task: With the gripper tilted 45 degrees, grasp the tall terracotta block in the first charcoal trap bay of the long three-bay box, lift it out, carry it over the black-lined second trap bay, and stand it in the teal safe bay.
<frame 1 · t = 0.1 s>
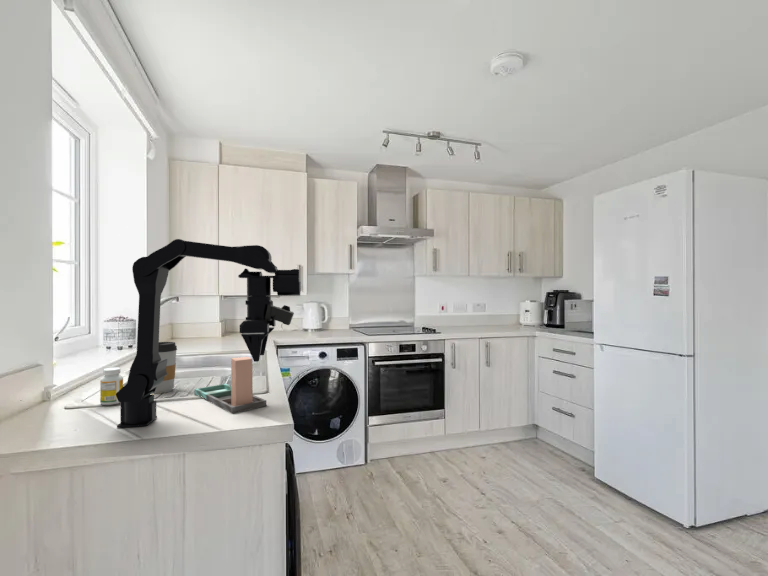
hand: (259, 358, 101), 15 cm above the worktop, tool pointing down, fingers open, 9 cm apart
supplement bottle: (111, 403, 114), on the worktop
coffee cup: (162, 391, 127), on the worktop
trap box: (228, 399, 117), on the worktop
slim block: (241, 405, 110), resting in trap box
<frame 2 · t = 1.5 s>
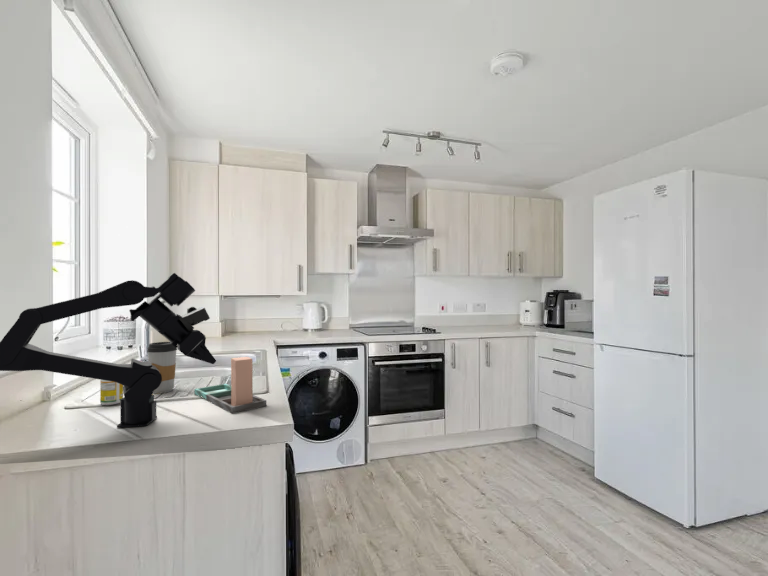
hand: (210, 360, 106), 13 cm above the worktop, tool tilted 45°, fingers open, 9 cm apart
nothing on the worktop moved.
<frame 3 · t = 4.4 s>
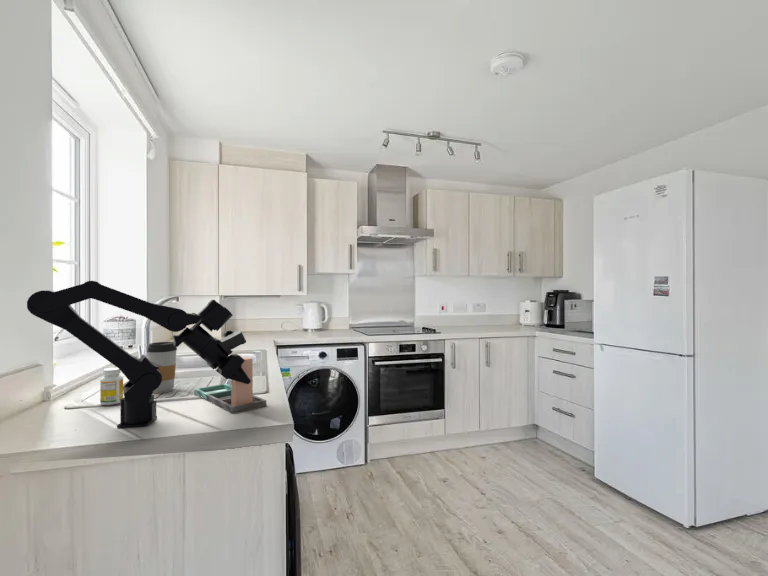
hand: (247, 381, 111), 7 cm above the worktop, tool tilted 45°, fingers closed on slim block, 4 cm apart
slim block: (241, 405, 110), resting in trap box, touching gripper
everything else where it was.
when the fingers open (8 cm above the worktop, at t = 9.5 s): slim block drops 1 cm, resting on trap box.
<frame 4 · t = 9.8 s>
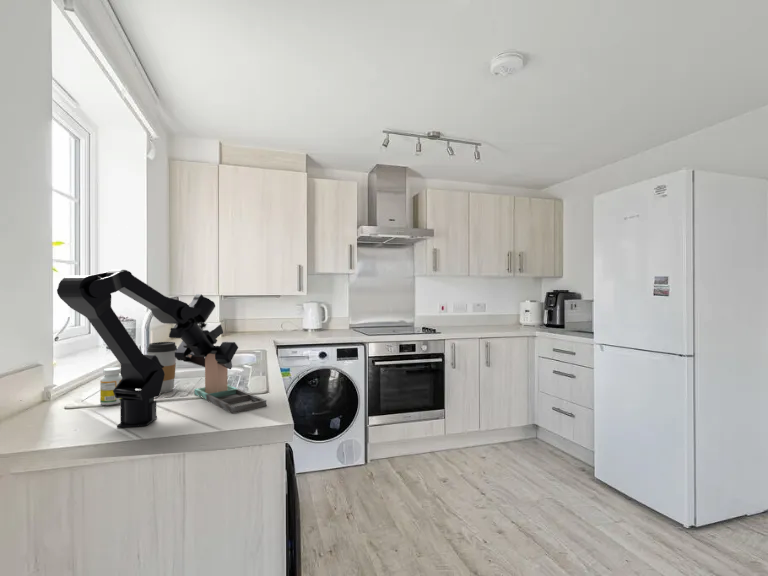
hand: (219, 367, 124), 8 cm above the worktop, tool tilted 45°, fingers open, 8 cm apart
slim block: (216, 393, 123), resting on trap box
everything else where it was.
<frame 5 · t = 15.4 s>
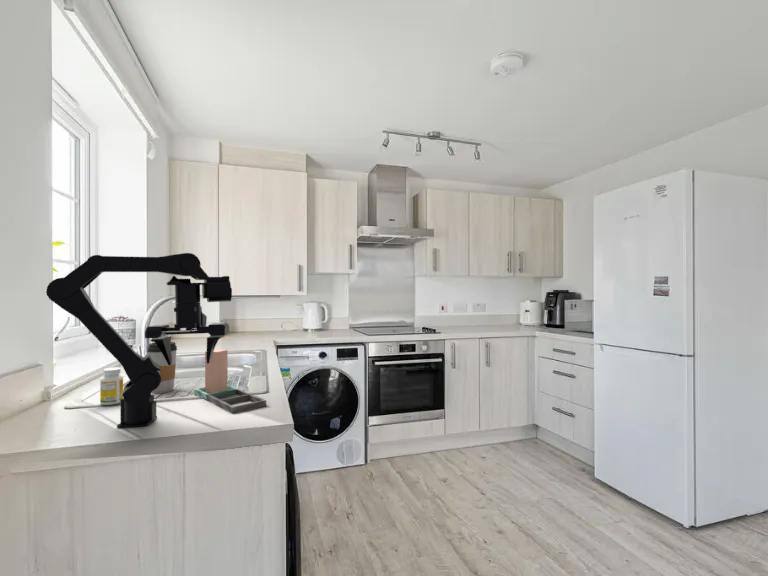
hand: (189, 364, 102), 13 cm above the worktop, tool pointing down, fingers open, 9 cm apart
nothing on the worktop moved.
at the end: slim block 0.1 cm from the target spot, resting on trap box; slim block tilted 0°; the gripper is holding nothing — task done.
